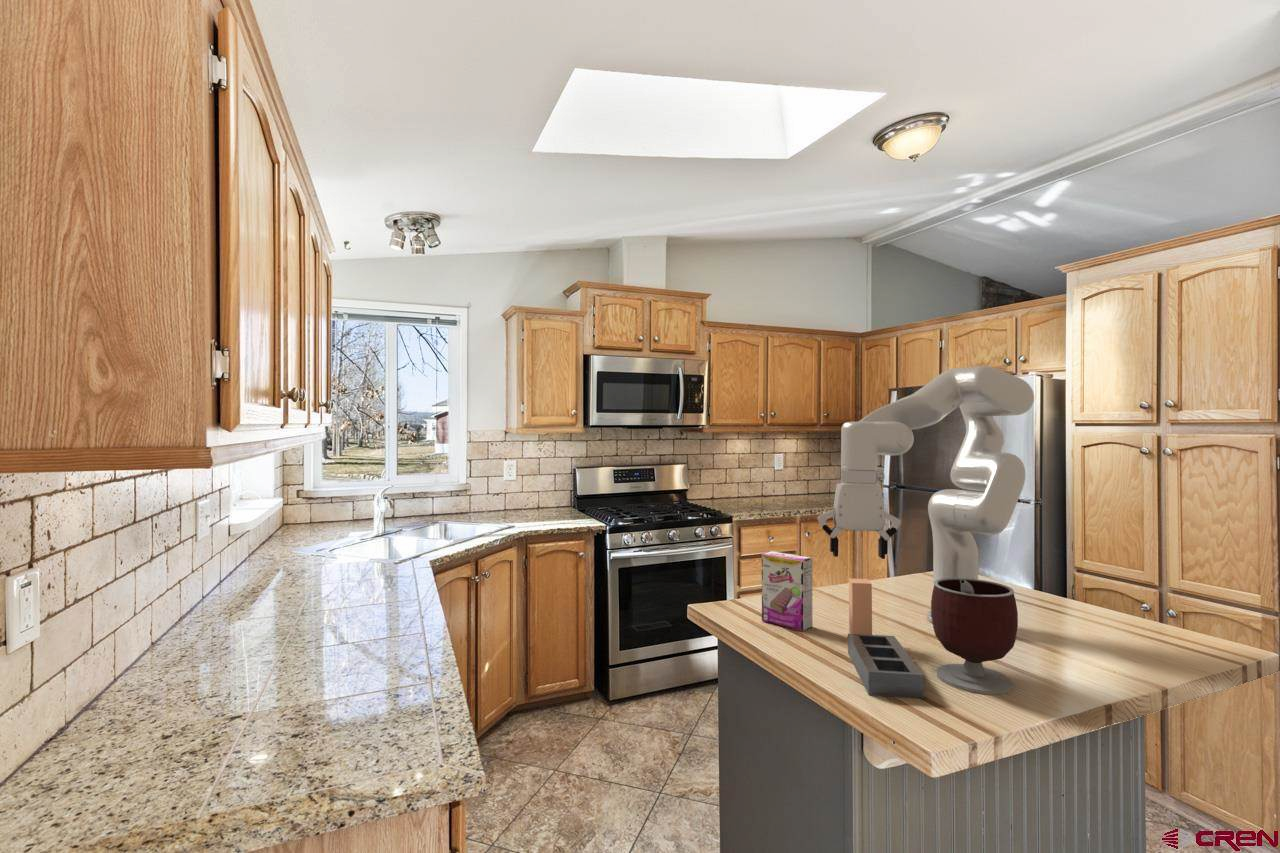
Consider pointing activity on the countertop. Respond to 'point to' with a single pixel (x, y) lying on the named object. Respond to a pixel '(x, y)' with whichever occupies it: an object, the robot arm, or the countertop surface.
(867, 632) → the square peg
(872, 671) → the rail
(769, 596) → the candy bar box
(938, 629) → the mate gourd
